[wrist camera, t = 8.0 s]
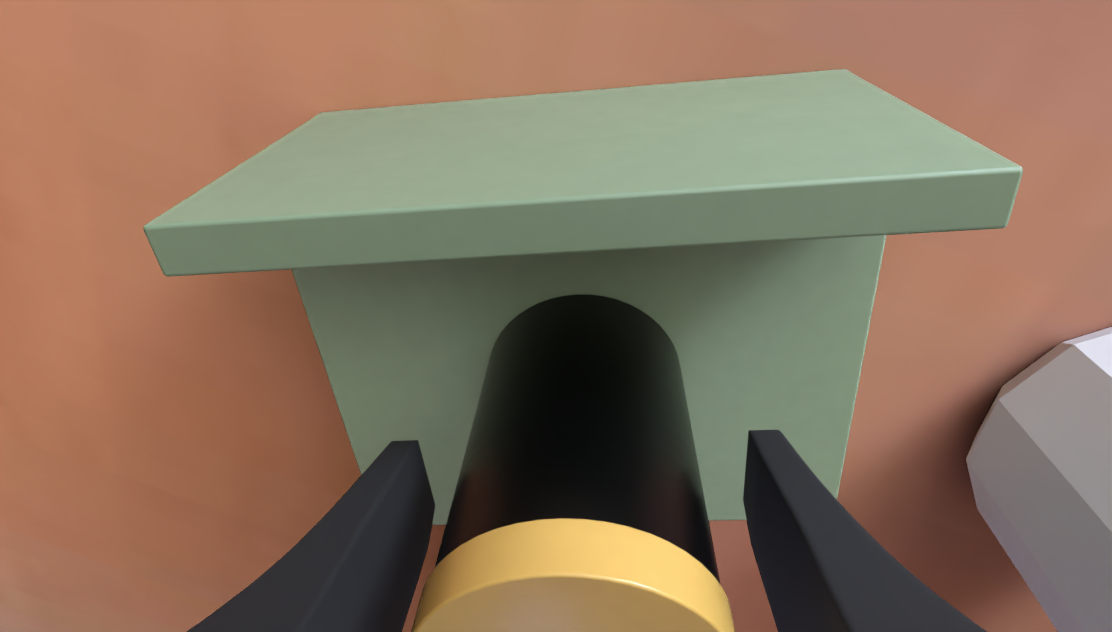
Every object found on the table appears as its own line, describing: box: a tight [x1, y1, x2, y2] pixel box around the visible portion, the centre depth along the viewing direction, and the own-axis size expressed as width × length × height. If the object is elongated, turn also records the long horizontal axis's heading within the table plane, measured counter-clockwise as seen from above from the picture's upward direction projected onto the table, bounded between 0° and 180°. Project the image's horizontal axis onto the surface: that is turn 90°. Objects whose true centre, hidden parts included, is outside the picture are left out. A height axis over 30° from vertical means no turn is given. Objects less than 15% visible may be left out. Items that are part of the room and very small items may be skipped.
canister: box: [411, 294, 736, 632], centre depth 13 cm, size 5×5×8 cm
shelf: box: [144, 69, 1023, 525], centre depth 16 cm, size 12×14×8 cm
